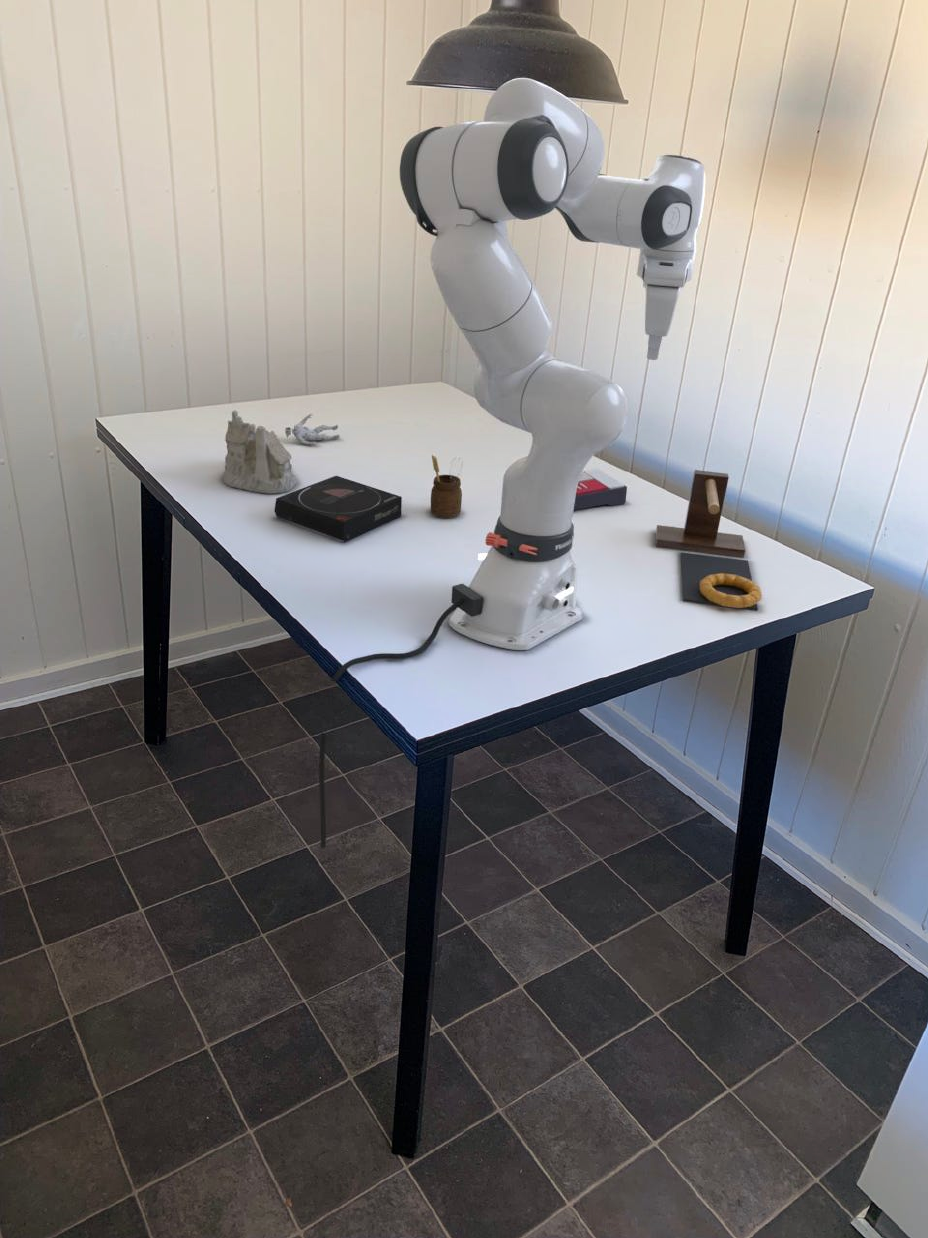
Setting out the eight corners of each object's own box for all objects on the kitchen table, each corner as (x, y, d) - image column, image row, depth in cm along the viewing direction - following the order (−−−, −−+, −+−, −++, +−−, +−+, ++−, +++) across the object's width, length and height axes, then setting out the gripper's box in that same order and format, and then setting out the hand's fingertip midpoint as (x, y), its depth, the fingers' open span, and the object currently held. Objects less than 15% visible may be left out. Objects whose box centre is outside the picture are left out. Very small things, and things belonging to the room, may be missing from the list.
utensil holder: (466, 516, 184) (470, 456, 178) (438, 521, 181) (441, 460, 175) (450, 505, 188) (454, 446, 183) (423, 510, 185) (425, 451, 179)
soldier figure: (342, 448, 217) (296, 438, 210) (331, 457, 221) (285, 448, 213) (337, 417, 220) (291, 407, 212) (326, 427, 223) (281, 417, 215)
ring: (759, 575, 162) (765, 602, 154) (756, 586, 163) (762, 613, 155) (699, 568, 164) (702, 594, 155) (697, 578, 164) (700, 605, 156)
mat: (757, 610, 156) (757, 608, 156) (683, 600, 158) (683, 598, 157) (747, 562, 173) (748, 560, 172) (680, 554, 174) (680, 552, 174)
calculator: (536, 476, 195) (599, 465, 201) (535, 495, 197) (597, 484, 203) (564, 495, 187) (628, 483, 192) (562, 515, 189) (626, 503, 194)
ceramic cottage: (272, 497, 186) (270, 420, 180) (207, 482, 193) (202, 407, 186) (319, 479, 199) (318, 407, 192) (256, 465, 205) (254, 395, 199)
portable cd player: (333, 493, 190) (333, 474, 188) (401, 516, 182) (401, 496, 180) (274, 517, 178) (273, 497, 176) (343, 542, 170) (343, 522, 168)
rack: (655, 532, 183) (667, 464, 176) (741, 542, 181) (755, 474, 174) (655, 567, 169) (667, 495, 162) (748, 578, 167) (764, 506, 160)
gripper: (647, 255, 164) (635, 337, 171) (644, 274, 147) (631, 364, 153) (684, 259, 163) (671, 341, 170) (686, 277, 146) (671, 368, 152)
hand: (652, 352), depth 162 cm, fingers open, 8 cm apart
